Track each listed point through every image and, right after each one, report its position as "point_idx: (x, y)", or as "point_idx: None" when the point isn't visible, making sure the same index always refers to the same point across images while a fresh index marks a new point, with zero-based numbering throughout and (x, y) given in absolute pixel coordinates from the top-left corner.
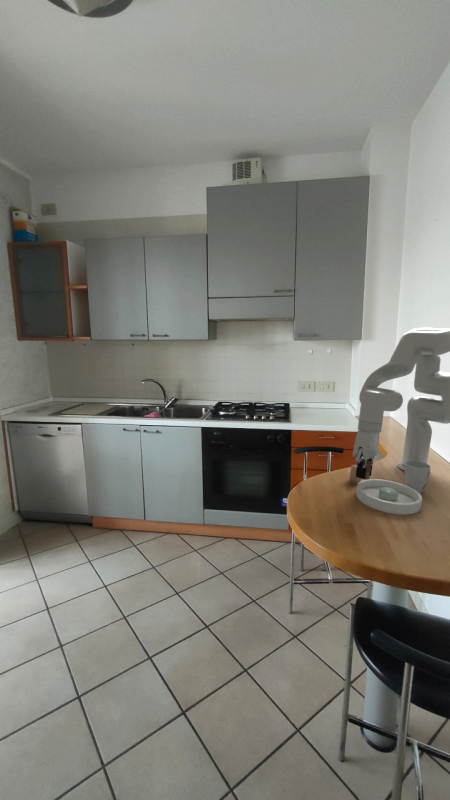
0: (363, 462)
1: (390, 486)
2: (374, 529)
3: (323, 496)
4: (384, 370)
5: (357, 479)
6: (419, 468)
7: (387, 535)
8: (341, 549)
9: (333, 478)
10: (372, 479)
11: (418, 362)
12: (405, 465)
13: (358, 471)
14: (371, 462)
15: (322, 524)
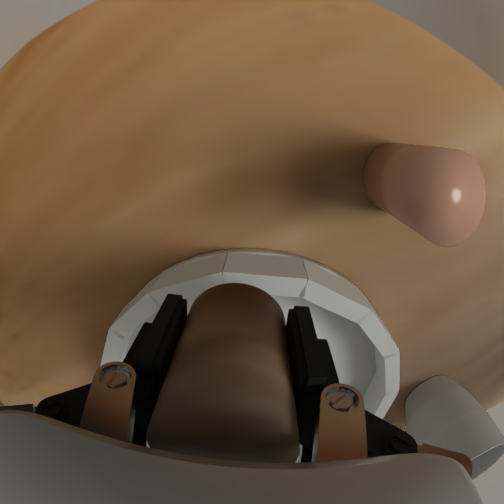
0: (150, 445)
1: (378, 370)
2: (32, 366)
3: (45, 145)
4: None
5: (381, 204)
6: None
7: (41, 389)
8: None
9: (337, 48)
10: (365, 318)
11: None
12: (468, 448)
13: (133, 348)
14: (300, 457)
15: None
